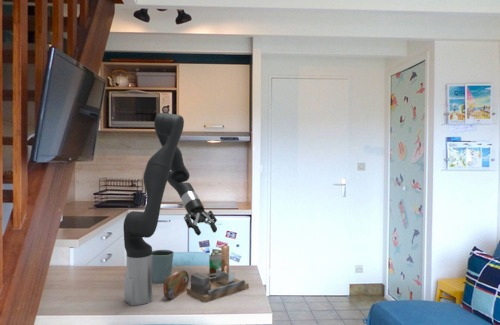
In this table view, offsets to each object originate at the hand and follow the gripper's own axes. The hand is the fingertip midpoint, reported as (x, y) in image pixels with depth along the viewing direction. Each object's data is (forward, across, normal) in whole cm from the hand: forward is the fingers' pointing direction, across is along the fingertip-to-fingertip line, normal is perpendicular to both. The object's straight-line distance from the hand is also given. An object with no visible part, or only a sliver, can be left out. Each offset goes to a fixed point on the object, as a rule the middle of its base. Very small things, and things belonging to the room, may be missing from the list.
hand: (207, 232), depth 164 cm
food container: (+12, +9, +19) cm, 24 cm away
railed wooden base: (+23, -4, +6) cm, 24 cm away
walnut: (+22, -9, +5) cm, 24 cm away
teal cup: (+4, -14, +26) cm, 29 cm away
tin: (+18, -18, +12) cm, 28 cm away
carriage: (+22, 0, +5) cm, 22 cm away
